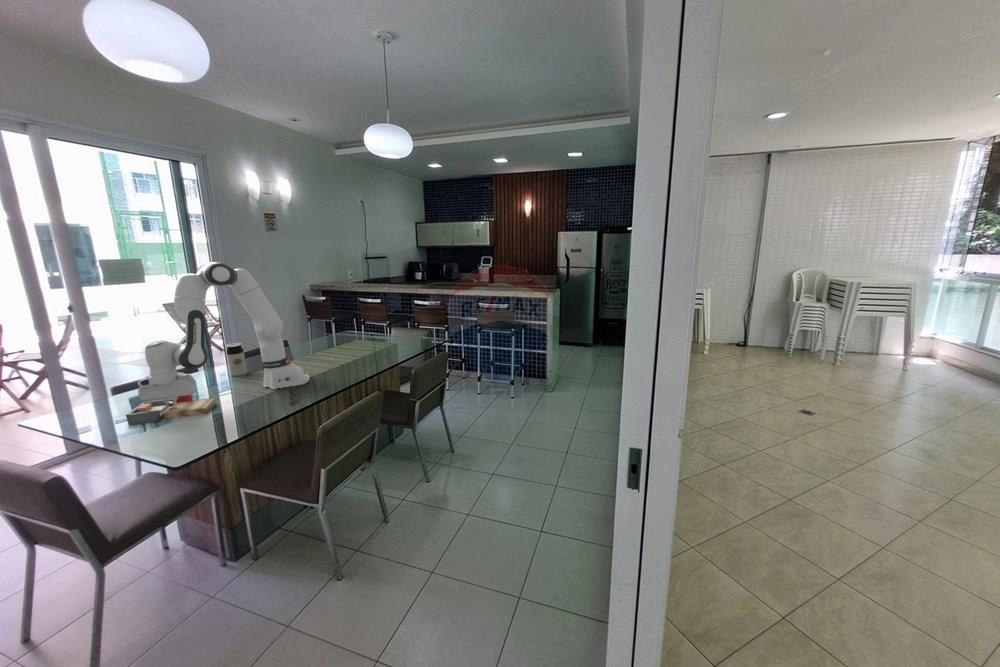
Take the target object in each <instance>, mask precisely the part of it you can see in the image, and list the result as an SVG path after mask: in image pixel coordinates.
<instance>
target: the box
mask: <svg viewBox="0 0 1000 667" xmlns="http://www.w3.org/2000/svg"><path fill="white" fill-rule="evenodd" d="M168 400H169V401H170V402H172V401H173V400H174V399H169V398H168ZM148 403H152V406H153V407H157V406H165V405H166V406H167V404H166V403H165V402H164V401H162V399H155V400H147V401H143V402H141V403H140V404H139V405H137V406H136V407H135V408H133V409H132V410H130V411H129V412H128V413H126V414H125V417H126V422H127V425H128V426H129V427H130V426H138V425H144V424H153V423H159V422H162V421H163V420H164V417H163V414H162V413H164V412H165V411H166V410H167V409H168V408H169V407H167V408H166V409H165V410H164V411H163V412H161V413H160V411H159V410H155V411H147V412H140V413H138V409H137V408H139V407H140V406H141V405H143V404H148ZM170 407H171V406H170Z"/></svg>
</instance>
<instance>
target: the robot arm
mask: <svg viewBox="0 0 1000 667" xmlns="http://www.w3.org/2000/svg"><path fill="white" fill-rule="evenodd" d="M176 283H177V284H176V287H175V292H174V299H173V306H174V310H175V311H174V312H175V313H176V314H177V315H178V316H179V317H180V318H181V319H182V320H183V322H184V324H185V328H186V330H185V331H186V333H185V338H186V339H185V343H175V342H171V341H167V340H157V341H153V342H150V343H149V344H147V345H146V346H145V349H144V354H145V355H144V356H145V360H146V364H147V366H148V367H149V375H147V376H145V377H143V378H141V379H139V380H138V381H137V386H138V388H137V392H138V398H139V400H141V401H143V402H146V401H154V400H162V401H164V402H165V403H166V404H167V407H170V406H176V405H177V403H176V401H177V399H178V396H185V395H191V396H193V395H195V394H196V393H197V391H198V390H197V389H198V388H197V385H196V383H195V378H194V376H192V375H191V376H190V377H189V375H185V374H184V375H181V376H178V375H177V373H178V372H177V367H179V366H181V367H183V368H185V369H187V370H197V369H200V368H202V367H203V366H204V365H206V363H207V361H208V355H209V354H208V352H207V350H206V347H205V346H206V345H205V328H206V326H205V309H206V308H205V307H206V298H207V297H206V296H207V292H208V289H210V287H220V286H223V287H224V286H228V287H229V288H230V289H232V292H233V293H234V295H235V296H236V298H237V299H238V301H239V302H240V304H241V306H242V307H243V309H244V311H245V312H246V313H247V315H248V316H249V317H250V319H251V320H252V322H253V326H254V328H253V329H254V331H255V335H256V338H257V342H258V345H259V351H260V356H261V368H262V371H263V383H262V386H264V387H263V388H265V387H269V388H268V389H271V388H272V389H271V390H278V389H277V388H280V389H285V388H290V386H291V387H296V386H300V385H302V386H303V385H305V384H306V383H308V382H309V381H310V378H311V377H310V375H309V374H306V373H305V372H304V369H303V368H302V367H301V366H299V365H297V364H295V363H292V361H291V357H288V356H286V352H285V345H284V341H283V338H282V336H281V333H282V331H283V329H284V323H283V320H282V319H281V318H280V316H279V315H278V313H277V311H276V310H275V308H274V307H273V306H272V304H271V303H270V302H269V300H268V299H267V297H266V294H264V292H263V291H262V289H261V287H260V285H259V283H258V282H257V281H256V279H255V278H254V277H253V276H252V274H251V273H250V271H248V270H247V269H245V268H235V269H234V268H232V267H230V266H229V265H227V264H225V263H222V262H217V261H214V262H213V261H210V262H207V263H204V264H202V265H201V266H199V268H198V269H197V270H196V271H195V272H194V273H184V274H182V275H181V276H180V277H179V278H178V281H177V282H176ZM284 387H285V388H284ZM169 397H172V399H173V401H172V402H170V401H169V400H168V399H169Z"/></svg>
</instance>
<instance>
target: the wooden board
mask: <svg viewBox="0 0 1000 667" xmlns="http://www.w3.org/2000/svg"><path fill="white" fill-rule="evenodd" d="M216 404H217V402H216V399H215V398H208V399H200V400H199V399H198V400H193V401H190V402H182V403H177V405H176V406H171V407H169V408H168V409H167V410H166V411H165V412H164V413H162V414H163V417H164V419H163V420H170V419H179V418H185V417H186V418H187V417H194V416H195V417H196V416H201V415H202V416H203V415H207V414H209V413H210V411H211V410H212V409H213V408H214V407H215V405H216Z"/></svg>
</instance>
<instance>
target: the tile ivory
mask: <svg viewBox="0 0 1000 667" xmlns="http://www.w3.org/2000/svg"><path fill="white" fill-rule="evenodd" d="M166 408H167V406H166V405H165V406H157V407H152V408H151V409H150V410H149V411H155V410H159V411H160V413H161V412H163V411H164V410H165V409H166Z"/></svg>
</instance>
